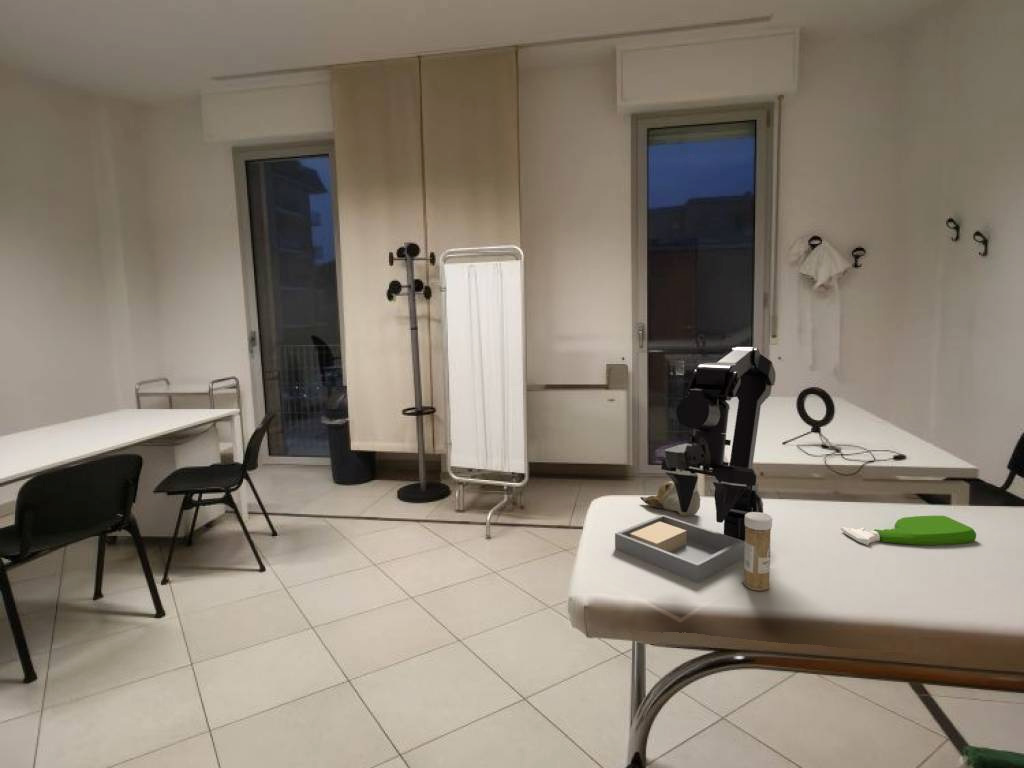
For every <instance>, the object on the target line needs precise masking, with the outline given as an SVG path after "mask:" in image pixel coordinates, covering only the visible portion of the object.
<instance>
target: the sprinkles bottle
mask: <svg viewBox="0 0 1024 768" xmlns="http://www.w3.org/2000/svg"><path fill="white" fill-rule="evenodd" d="M772 528H773V517H772V516H771V515H769V514H768V513H764V512H763V513H760V512H750V513H747V514H746V515H745V550H744V558H743V559H744V560H743V562H744V563H743V568H744V574H743V576H744V577H743V578H744V579H743V581H742V582H743V585H744V586H745V587H746V588H748V589H749V590H753V591H758V592H763V591H767V590H768V589H770V586H771V585H770V570H771V531H772Z"/></svg>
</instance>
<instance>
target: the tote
mask: <svg viewBox="0 0 1024 768" xmlns="http://www.w3.org/2000/svg"><path fill="white" fill-rule="evenodd" d="M657 522H663V523H666V524H669V525H672V526H675V527H678V528H681V529H684V530H686V531H687V543H686V544H685V545H683V546H681V547H679V548H677V549H675V550H672V551H670V552H667V551H665V550H662V549H659V548H657V547H654V546H652V545H649V544H646V543H644V542H641V541H639V540H636V539H633V538H631V537H630V533H633V532H635V531H637V530H640V529H642V528H645V527H647V526H650V525H652V524H655V523H657ZM614 549H615V550H617V551H619V552H621V553H623V554H626V555H628V556H631V557H632V558H633V557H634V558H635V559H638V560H640V561H643V562H645V563H648V564H650V565H652V566H655V567H657V568H660V569H662V570H665V571H667V572H670V573H673V574H674V575H677V576H678V577H679V576H680V577H681V578H684V579H687V580H689V581H691V582H694V583H696V584H699V583H701V582H702V581H704V580H706V579H707V578H709V577H711V576H713V575H715V574H717V573H719V572H720V571H723V570H724V569H726V568H728V567H730V566H731V565H733V564H735V563H737V562H739V561H741V560H742V559H744V550H745V541H742V540H739V539H736V538H733V537H730V536H727V535H724V533H721V532H718V531H715V530H712V529H708V528H705V527H702V526H700V525H696V524H693V523H690V522H687V521H683V520H681V519H678V518H675V517H672V516H669V515H666V514H661V515H658V516H655V517H653V518H651V519H648V520H645V521H642V522H640V523H638V524H635V525H633V526H630V527H628V528H625V529H623V530H620V531H618V532H615V533H614Z"/></svg>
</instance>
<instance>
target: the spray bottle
mask: <svg viewBox="0 0 1024 768" xmlns="http://www.w3.org/2000/svg"><path fill="white" fill-rule="evenodd" d="M894 523H895V524H894V526H893V527H894V528H891V529H889V528H886V529H876V528H875V529H874V530H871V531H869V530H868V531H866V530H865V529H866V528H865V527H862V528H858V529H856V528H852V527H851V528H847V527H845V526H841V527H840V530H841V532H842V533H843V534H845V535H846V536H848V537H850V538H852V539H853V540H855V541H857V542H858V543H861V544H864V545H866V546H869V544H871V543H875V542H881V543H890V544H899V545H900V544H902V545H913V546H914V545H915V546H949V545H959V544H969V543H972V542H975V540H976V538H977V532H976V531H975V530H974V528H973V527H971V526H968V525H966V524H964V523H962V522H960V521H958V520H956V519H953V518H950V517H948V516H947V515H919V516H916V515H915V516H906V517H901V518H899V519H897V520H896V522H894Z"/></svg>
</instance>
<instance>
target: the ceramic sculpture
mask: <svg viewBox="0 0 1024 768" xmlns="http://www.w3.org/2000/svg"><path fill="white" fill-rule="evenodd" d="M639 497H640V500H641V501H643V502H644V503H645V504H646V505H648V506H650V507H651V508H663V509H665V510H667V511H671V512H677V513H678V514H679V515H680V516H681V517H693V516H695V515H697V513H698V511H699V509H700V507H701V497H700V492H699V491H698V490H694V492H693V495H692V499H691V502H690V505H689V508H688V510H687V512H682V511H681V508H680V504H679V499H678V495H677V490H676V487H675V484H674V481H673V480H672V481H666V482H663V483H662V484H661V485H660V486H659V488H658V491H657V495H650V496H647V497H643V496H639Z"/></svg>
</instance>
